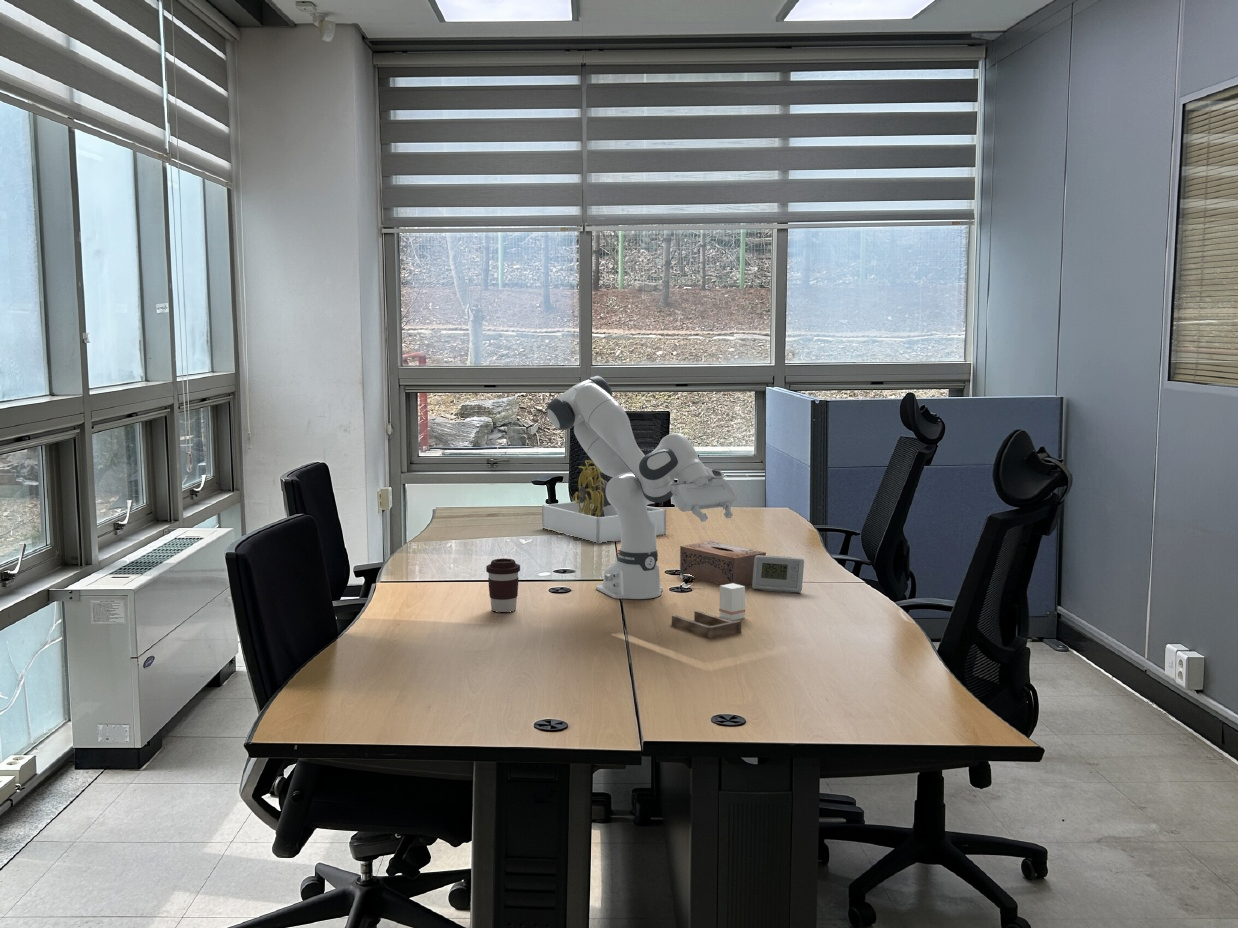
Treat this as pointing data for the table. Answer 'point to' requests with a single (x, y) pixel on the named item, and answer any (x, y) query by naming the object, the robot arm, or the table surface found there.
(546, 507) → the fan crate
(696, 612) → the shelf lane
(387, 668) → the table surface
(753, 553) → the tissue box cover
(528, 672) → the table surface
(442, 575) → the table surface
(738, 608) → the block
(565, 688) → the table surface
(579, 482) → the yellow stringy mass
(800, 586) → the digital clock
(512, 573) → the coffee cup
